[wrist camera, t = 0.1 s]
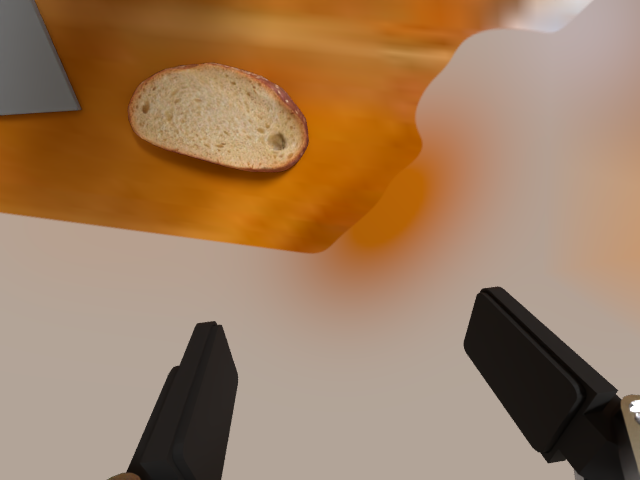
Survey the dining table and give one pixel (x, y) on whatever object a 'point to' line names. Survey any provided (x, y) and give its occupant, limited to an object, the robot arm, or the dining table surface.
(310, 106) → the dining table surface
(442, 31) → the dining table surface
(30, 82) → the slate mat
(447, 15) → the dining table surface
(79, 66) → the dining table surface
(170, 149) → the slice of bread
